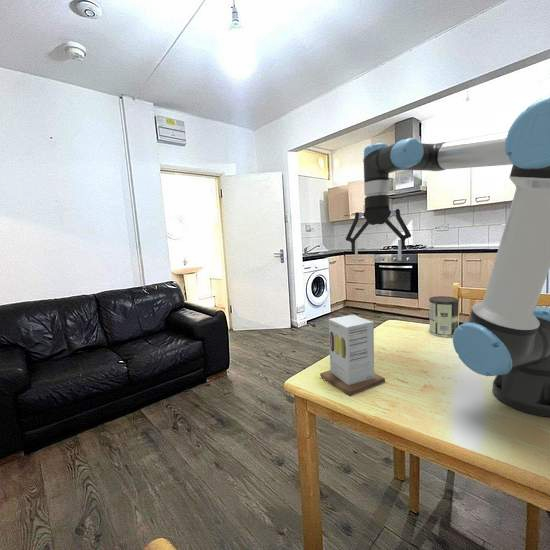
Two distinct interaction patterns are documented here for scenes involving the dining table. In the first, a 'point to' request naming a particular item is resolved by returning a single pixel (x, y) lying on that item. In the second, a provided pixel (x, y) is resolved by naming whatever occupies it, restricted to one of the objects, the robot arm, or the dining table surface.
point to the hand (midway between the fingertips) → (377, 260)
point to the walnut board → (354, 387)
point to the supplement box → (351, 348)
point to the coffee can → (443, 315)
